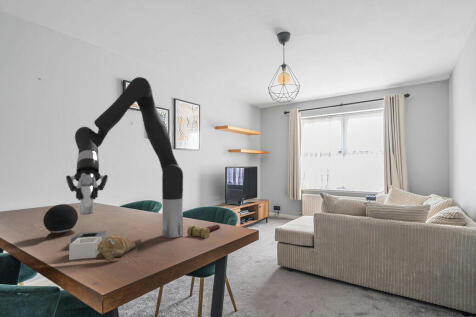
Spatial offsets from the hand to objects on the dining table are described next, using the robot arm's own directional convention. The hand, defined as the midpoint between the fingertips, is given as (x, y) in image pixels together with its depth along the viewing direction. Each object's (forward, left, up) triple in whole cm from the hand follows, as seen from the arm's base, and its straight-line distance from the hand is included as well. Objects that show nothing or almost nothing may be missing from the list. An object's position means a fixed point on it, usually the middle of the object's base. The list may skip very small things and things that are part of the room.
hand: (87, 198), depth 89 cm
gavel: (-47, -24, -22) cm, 57 cm away
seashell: (-11, 0, -22) cm, 24 cm away
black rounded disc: (+21, -35, -22) cm, 46 cm away
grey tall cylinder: (+1, -2, -6) cm, 6 cm away
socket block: (+4, -16, -21) cm, 27 cm away
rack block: (+1, -2, -21) cm, 21 cm away
